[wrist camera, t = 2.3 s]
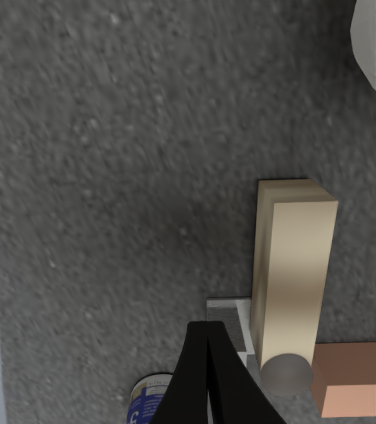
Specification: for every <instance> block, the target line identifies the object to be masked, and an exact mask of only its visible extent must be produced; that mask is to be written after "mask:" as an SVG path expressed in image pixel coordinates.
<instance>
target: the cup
mask: <svg viewBox="0 0 376 424" xmlns="http://www.w3.org/2000/svg"><path fill="white" fill-rule="evenodd" d="M350 34H351V41H352V48H353V54H354V56H355V59H356V61H357V63H358V65H359V66H360V68H361V70H362V71H363V73H364V74H365V76H366V77H367V79H368V81H369V82H370V84H371V85H372V87H373V88H374V89H375V90H376V0H357V2H356V5H355V10H354V14H353V19H352V23H351V28H350Z"/></svg>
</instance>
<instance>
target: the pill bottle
mask: <svg viewBox="0 0 376 424" xmlns="http://www.w3.org/2000/svg"><path fill="white" fill-rule="evenodd" d="M172 376H173V375H169V374H158V375H152V376H149V377H147V378H144V379H143V380H141V381H140V382H139V383H137V385H136V386H135V387H134V389H133V391H132V393H131V398H130V403H129V409H128V415H127V421H126V424H148V423H149V421H150V420H151V418H152V416H153V414H154V413H155V411H156V409H157V407H158V405H159V403H160V401H161V400H162V398H163V396H164V394H165V391H166V389H167V387H168V385H169V383H170V380H171V378H172Z"/></svg>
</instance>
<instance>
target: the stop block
mask: <svg viewBox="0 0 376 424" xmlns="http://www.w3.org/2000/svg"><path fill="white" fill-rule="evenodd" d="M311 369H312V371H313V375H314V378H313V382H312V384H311V385H310V387H309V388H310V390H311V393H312V395H313V398H314V400H315V403H316V405H317V408H318V410H319V413H320V415H321V417H356V416H376V342H363V343H326V344H315V347H314V353H313V359H312V365H311Z"/></svg>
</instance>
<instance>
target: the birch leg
mask: <svg viewBox="0 0 376 424" xmlns="http://www.w3.org/2000/svg"><path fill="white" fill-rule="evenodd" d="M337 206H338V201H337V200H336V199H335V198H334V197H333V196H331V195H330V194H329V193H328V192H327V191H325V190H324V189H323V188H322V187H320V186H319V185H318V184H317V183H316V182H314V181H313V180H312V179H299V180H266V181H259V187H258V204H257V220H256V237H255V254H254V271H253V288H252V305H251V321H250V335H251V339H252V343H253V347H254V351H255V355H256V359H257V363H258V367H259V371H260V375H261V379H262V383H263V386H264V388H265V390H266V391H267V392H269V393H270V394H272V395H275V396H278V397H291V396H295V395H298V394H301V393H302V392H304V391H305V390H307V389H308V388H309V387H310V385H311V384H312V382H313V378H314V375H313V371H312V369H311V365H312V359H313V353H314V347H315V340H316V334H317V328H318V322H319V316H320V310H321V304H322V298H323V292H324V286H325V279H326V273H327V267H328V261H329V255H330V249H331V243H332V237H333V231H334V224H335V218H336V212H337Z"/></svg>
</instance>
